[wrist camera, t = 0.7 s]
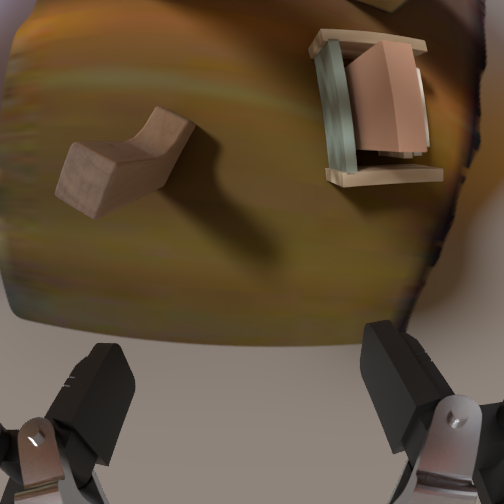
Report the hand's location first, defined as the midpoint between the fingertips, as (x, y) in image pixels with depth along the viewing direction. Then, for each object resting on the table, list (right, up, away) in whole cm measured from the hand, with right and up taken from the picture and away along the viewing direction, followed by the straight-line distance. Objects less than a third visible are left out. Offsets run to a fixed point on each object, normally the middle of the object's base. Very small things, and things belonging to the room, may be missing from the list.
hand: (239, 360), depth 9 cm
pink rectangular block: (+13, +21, +23) cm, 34 cm away
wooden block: (-10, +16, +25) cm, 32 cm away
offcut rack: (+15, +21, +23) cm, 35 cm away
